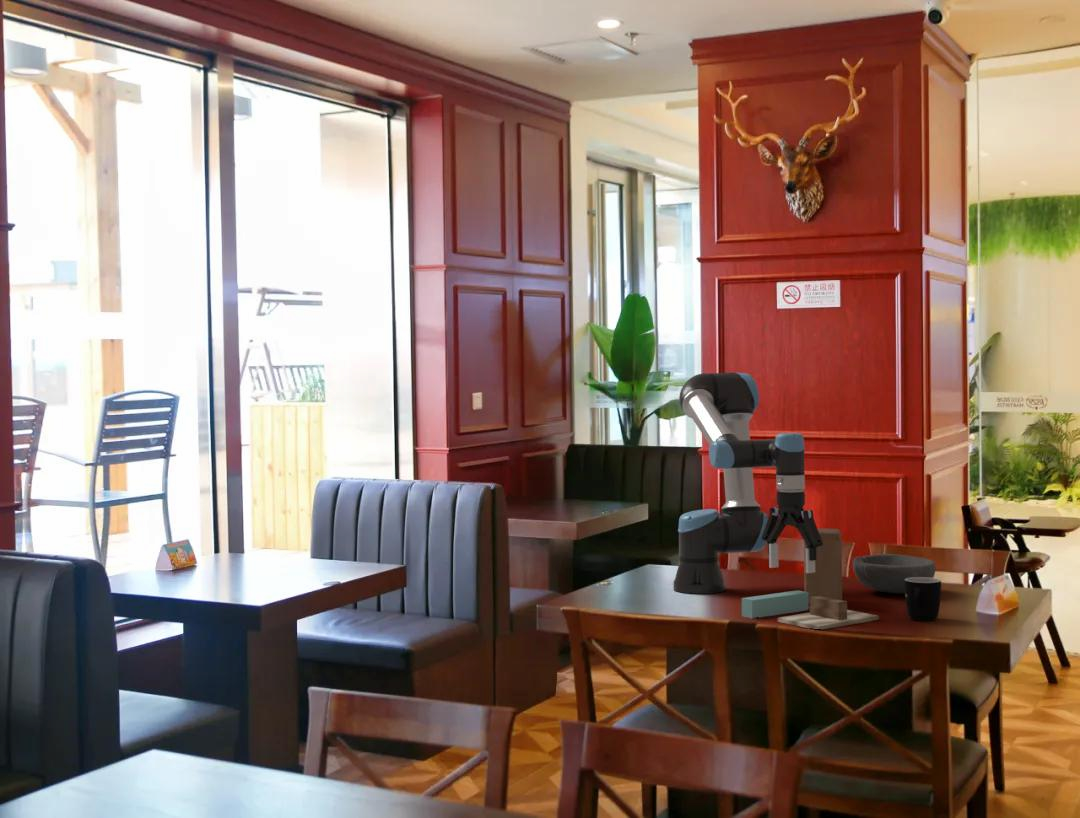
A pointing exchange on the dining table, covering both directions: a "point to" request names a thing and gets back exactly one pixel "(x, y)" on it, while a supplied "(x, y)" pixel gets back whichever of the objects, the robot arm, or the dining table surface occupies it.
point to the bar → (774, 604)
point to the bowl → (891, 571)
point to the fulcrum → (827, 615)
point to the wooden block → (826, 567)
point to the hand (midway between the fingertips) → (791, 570)
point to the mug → (923, 598)
